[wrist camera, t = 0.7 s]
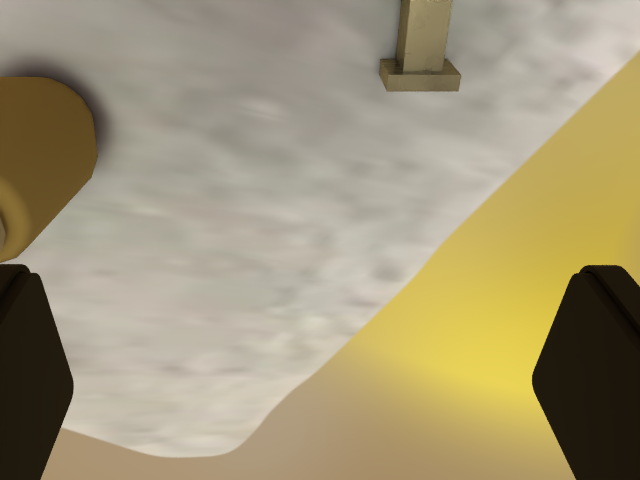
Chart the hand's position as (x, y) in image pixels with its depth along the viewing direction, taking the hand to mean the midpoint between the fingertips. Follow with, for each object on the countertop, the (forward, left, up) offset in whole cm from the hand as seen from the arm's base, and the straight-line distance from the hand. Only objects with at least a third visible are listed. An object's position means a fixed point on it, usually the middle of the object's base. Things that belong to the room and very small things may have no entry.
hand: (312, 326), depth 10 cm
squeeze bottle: (+7, -16, -28) cm, 33 cm away
